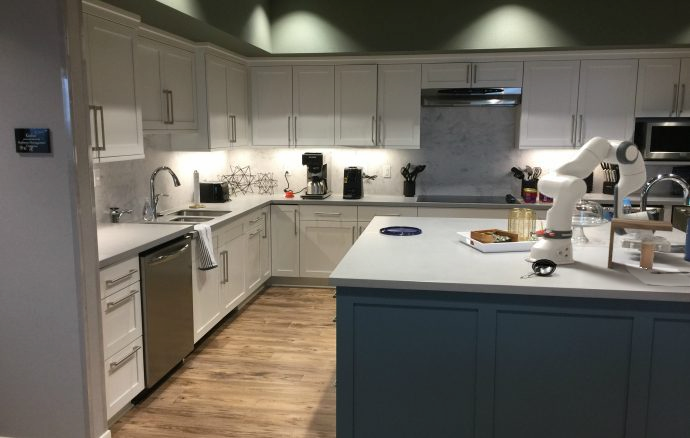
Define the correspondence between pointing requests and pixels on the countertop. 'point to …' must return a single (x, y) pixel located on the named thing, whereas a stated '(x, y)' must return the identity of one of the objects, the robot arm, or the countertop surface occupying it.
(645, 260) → the jar
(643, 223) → the shelf
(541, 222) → the cupcake
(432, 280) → the countertop surface
